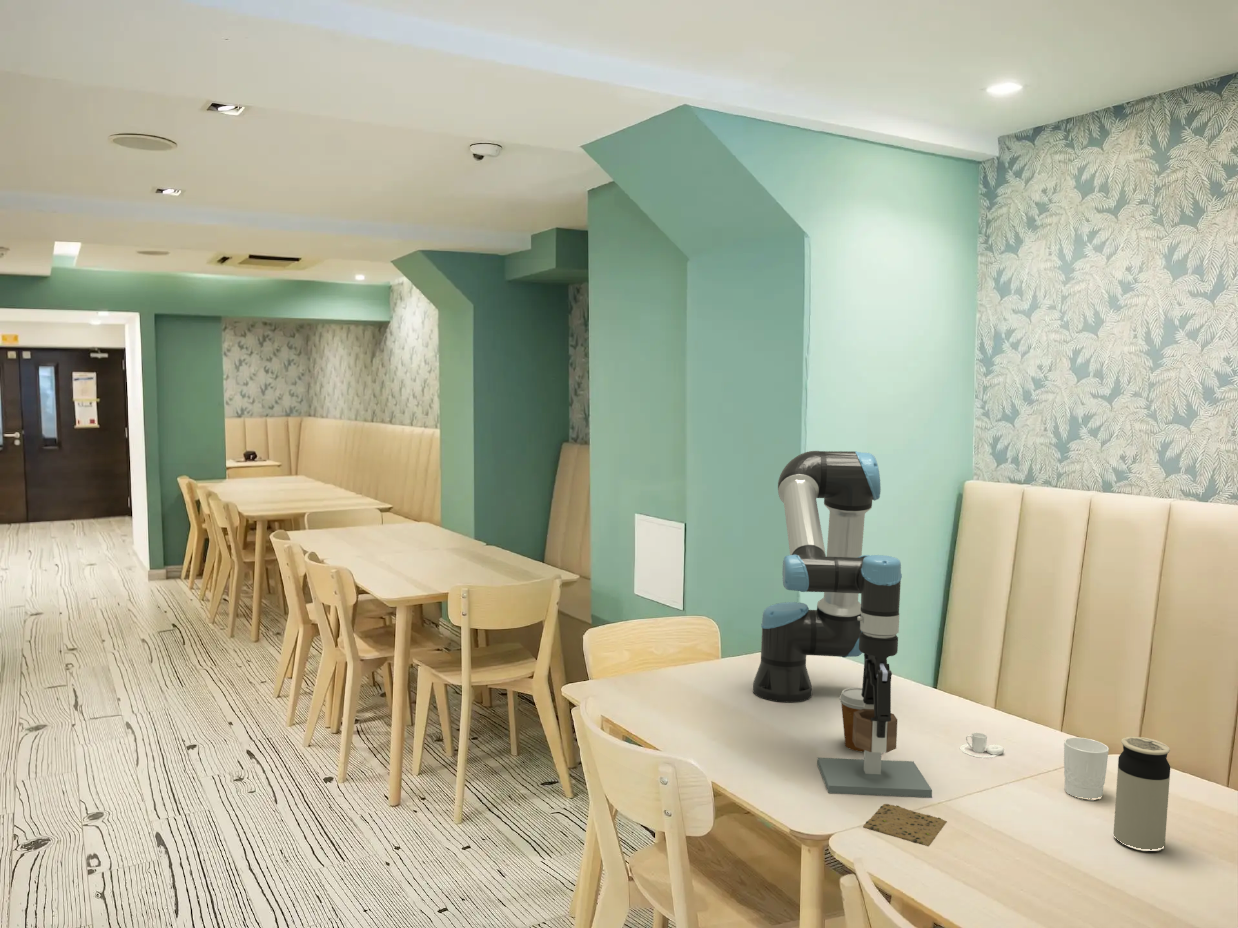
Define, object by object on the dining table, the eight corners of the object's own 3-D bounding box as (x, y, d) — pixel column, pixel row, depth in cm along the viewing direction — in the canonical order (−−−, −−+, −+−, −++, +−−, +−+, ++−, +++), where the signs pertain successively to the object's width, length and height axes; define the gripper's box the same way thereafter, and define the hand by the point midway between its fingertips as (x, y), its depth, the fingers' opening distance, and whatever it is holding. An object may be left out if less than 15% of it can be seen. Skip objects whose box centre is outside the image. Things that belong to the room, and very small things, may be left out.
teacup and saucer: (1007, 753, 206) (1008, 735, 205) (993, 763, 200) (994, 745, 199) (968, 742, 212) (969, 725, 211) (953, 752, 206) (954, 734, 205)
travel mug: (1143, 857, 160) (1150, 755, 158) (1103, 836, 167) (1109, 738, 165) (1175, 848, 163) (1182, 749, 161) (1133, 828, 170) (1140, 733, 169)
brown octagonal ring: (850, 736, 193) (851, 707, 192) (889, 738, 192) (890, 709, 192) (857, 751, 185) (859, 721, 184) (899, 753, 184) (900, 722, 184)
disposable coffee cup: (832, 749, 205) (834, 696, 204) (843, 735, 213) (845, 684, 212) (876, 758, 201) (878, 703, 200) (885, 743, 209) (888, 691, 208)
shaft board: (817, 764, 197) (819, 715, 196) (913, 768, 196) (915, 719, 195) (828, 792, 183) (830, 740, 182) (931, 797, 182) (934, 745, 181)
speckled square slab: (929, 849, 162) (929, 843, 162) (861, 829, 169) (861, 823, 169) (948, 823, 172) (948, 818, 172) (883, 805, 179) (883, 800, 178)
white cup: (1088, 805, 180) (1091, 755, 179) (1052, 789, 187) (1055, 740, 186) (1114, 797, 183) (1117, 748, 182) (1078, 782, 190) (1081, 734, 189)
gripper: (849, 619, 197) (845, 724, 199) (870, 646, 176) (865, 763, 178) (885, 621, 197) (881, 725, 199) (911, 648, 176) (905, 764, 178)
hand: (874, 743), depth 188 cm, fingers closed on brown octagonal ring, 8 cm apart
